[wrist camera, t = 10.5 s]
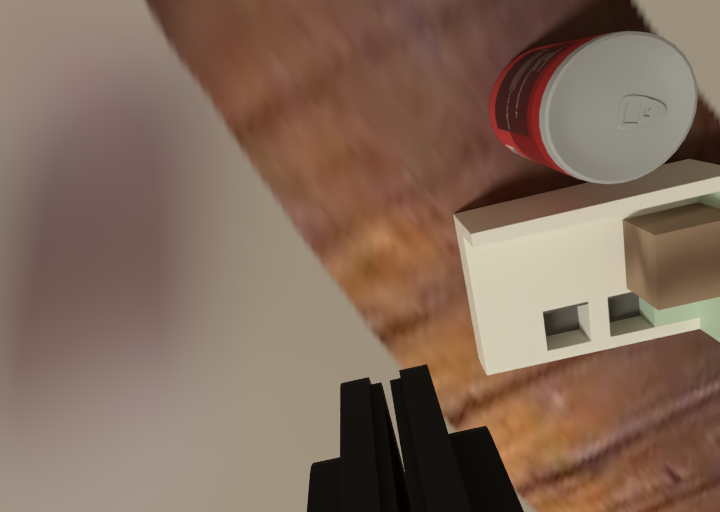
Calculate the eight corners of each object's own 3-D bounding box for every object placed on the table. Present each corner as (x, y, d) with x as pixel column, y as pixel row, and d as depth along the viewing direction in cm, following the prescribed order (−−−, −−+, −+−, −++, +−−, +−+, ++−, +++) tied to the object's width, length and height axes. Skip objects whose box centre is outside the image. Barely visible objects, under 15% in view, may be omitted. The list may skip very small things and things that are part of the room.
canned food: (602, 140, 37) (705, 161, 26) (496, 171, 37) (556, 204, 27) (588, 30, 34) (694, 7, 24) (475, 65, 35) (531, 57, 25)
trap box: (453, 213, 38) (470, 234, 33) (689, 158, 38) (745, 170, 32) (478, 359, 42) (498, 397, 37) (691, 312, 42) (741, 344, 36)
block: (622, 219, 36) (655, 235, 32) (698, 202, 36) (740, 215, 32) (626, 288, 38) (658, 310, 34) (699, 271, 38) (739, 292, 34)
